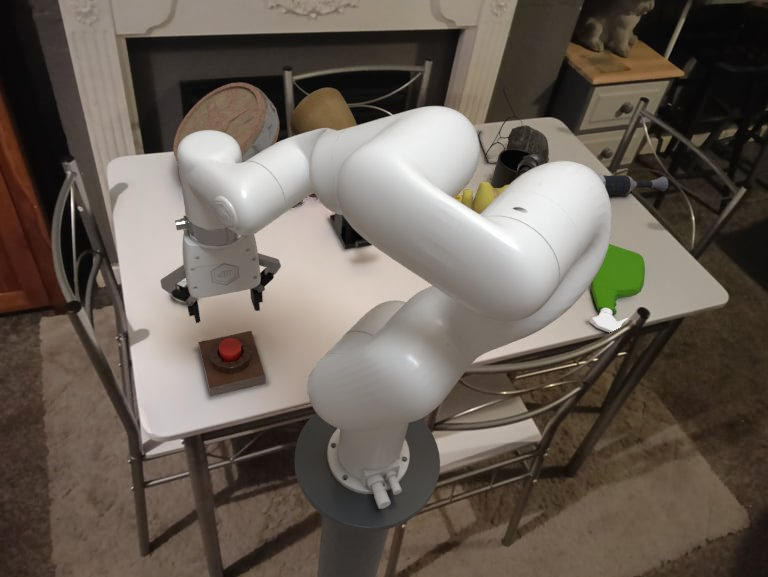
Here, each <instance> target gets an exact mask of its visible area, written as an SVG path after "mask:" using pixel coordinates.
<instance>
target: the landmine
mask: <svg viewBox="0 0 768 577" xmlns="http://www.w3.org/2000/svg"><path fill="white" fill-rule="evenodd" d="M203 130H214V131H220V132H223V133H226V134H228V135H230V136H231V137H233V138H234V139H235V140H236V141H237V143H238V145H239V147H240V150H241V155H242V162H245V161H247V160H248V159H250V158H252V157H253V156H255V155H256V154H258V153H260V152H261V151H263V150H265V149H266V148H268V147H270V146H272V145H274V144H275V143H277V141H278V137H279V132H280V118H279V115H278V111H277V108H276V107H275V105H274V103H273V102H272V101H271V99H269V98H268V96H267V95H266V93H265V92H263V91H262V90H261V89H260V88H258V87H257V86H254V85H253V84H250V83H247V82H241V81H239V82H231V83H228V84H225V85H222V86H220V87H218V88H215V89H213V90H212V91H210V92H208V93H207V94H206V95H204V96H203V97H202V98H201V99H200V100H198V101H197V102H196V103H195V104H194V105H193V106H192V108H191V109H190V110H189V111H188V112H187V113H186V114H185V116H184V118H183V119H182V121H181V122H180V124H179V126H178V128H177V130H176V132H175V136H174V140H173V147H172V149H173V156H174V158H175V161H176V163H177V164H178V160H177V149H178V146H179V144H180V142H181V141H182V140H183V139H184V138H185V137H186V136H188V135H190V134H192V133H194V132H198V131H203Z"/></svg>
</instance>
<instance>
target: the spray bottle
mask: <svg viewBox="0 0 768 577" xmlns="http://www.w3.org/2000/svg"><path fill="white" fill-rule="evenodd" d="M645 263H646V262H645V259H644V257H643V256H642V255H641V254H640V253H638V252H636V251H632V250H629V249H626V248H624V247H623V248H622V247H620V246H617V245H615V244H611V243H609V247H608V250H607V253H606V256H605V258H604V261H603V263H602V265H601V267H600V269H599V271H598V273H597V274H596V276H595V278H594V279H593V281H592V282H591V284H590V288H591V294H592V297H593V300H594V304H595V307H596V309H597V312H599V314H598V315H597V316H593V317H591V319H590V320H589V323H590V324H591V325H592V326H594V327H595V328H597V329H599V330H602V331H604V332H607V333H609V334H611V333H610V332H612V331H614V330H616V329H618V328H620V327H621V326H622V327H623V325H624V323H626V322H627V321H628V320H629V317H625V318H623V319H621V320H617V319H616V318H615V315H617V309H616V306H617V302H616V301H617V300H618V299H622V298H631V297H634V296H636V295H638V294H640V293H641V292H642V290H643V288H644V285H645V277H646V276H645V274H646V266H645Z"/></svg>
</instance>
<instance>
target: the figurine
mask: <svg viewBox="0 0 768 577" xmlns="http://www.w3.org/2000/svg"><path fill="white" fill-rule="evenodd" d="M508 186H509V185H505V186H504V187H502V188H493V187H492V186H491V182H488V181H481V182H480V183H479V184H478V187H477V191H476V194H475V195H473V194H474V191H473V190H472V189H470V188H464V189H463V190H462V195H463V196H462V201H461V203H462V204H463V205H465V206H467V207H468V208H470V209H472V207H473V209H472V210H473V211H475V212H476V213H478V214H481V213H482V212H483V211H484V210H485V209H486V208H487V207H488V206H489V205H490V204H491V202H492V201H493V200H495V199H496V198H497V197H498V196H499V195H500V194H501V193H502V192H503V191H504V190H505V189H506V188H507V187H508ZM472 202H473V203H472Z"/></svg>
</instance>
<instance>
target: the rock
mask: <svg viewBox="0 0 768 577" xmlns="http://www.w3.org/2000/svg"><path fill="white" fill-rule="evenodd" d="M521 126H522V128H521ZM520 128H521V130H520ZM519 130H520V131H519ZM518 131H519V132H518ZM517 132H518V133H517ZM515 133H517V134H516V135H514V134H515ZM512 135H514V136H512ZM509 136H512V137H510V138H507V144H506V150H507V149H520V150H524V151H527V152H530V153H532V154H538V155H541V156H542V157H543V158H544V160H545V164H546V163H549V161H550V158H549V156H550V149H549V142H548V139H547V137H546V135H545V134H544V133H543V132H541V131H540V130H537V129H535V128H533V127H531V126H530V125H527V124H525V125H524V124H522V125H520V126H516V127H512V129H511V131H510V132H509V135H508V137H509Z"/></svg>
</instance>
